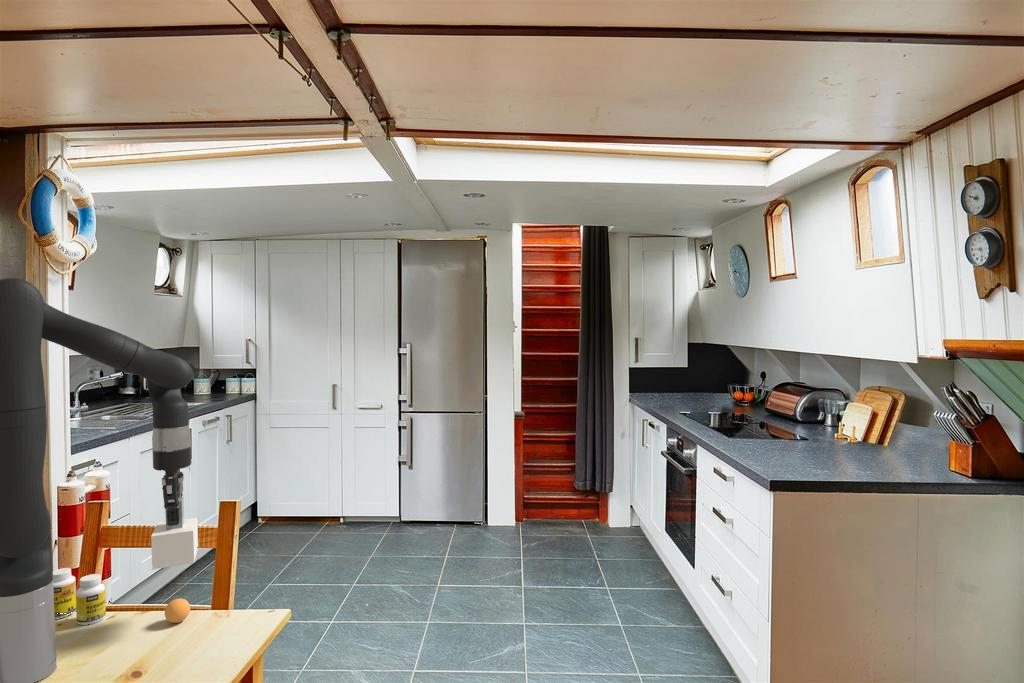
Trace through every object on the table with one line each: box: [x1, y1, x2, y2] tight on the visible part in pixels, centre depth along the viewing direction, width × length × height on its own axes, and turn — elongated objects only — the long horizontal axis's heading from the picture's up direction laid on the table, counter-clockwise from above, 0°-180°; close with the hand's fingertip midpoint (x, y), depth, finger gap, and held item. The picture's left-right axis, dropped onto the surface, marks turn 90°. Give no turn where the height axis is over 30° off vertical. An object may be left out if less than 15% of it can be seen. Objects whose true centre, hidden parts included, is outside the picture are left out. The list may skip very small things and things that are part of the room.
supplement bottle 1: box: [53, 567, 77, 620], centre depth 138 cm, size 6×6×10 cm
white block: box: [150, 496, 199, 570], centre depth 135 cm, size 8×10×13 cm
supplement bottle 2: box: [75, 573, 107, 626], centre depth 135 cm, size 5×5×10 cm
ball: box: [164, 598, 191, 624], centre depth 134 cm, size 5×5×5 cm
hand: (174, 522), depth 135 cm, fingers closed on white block, 3 cm apart
